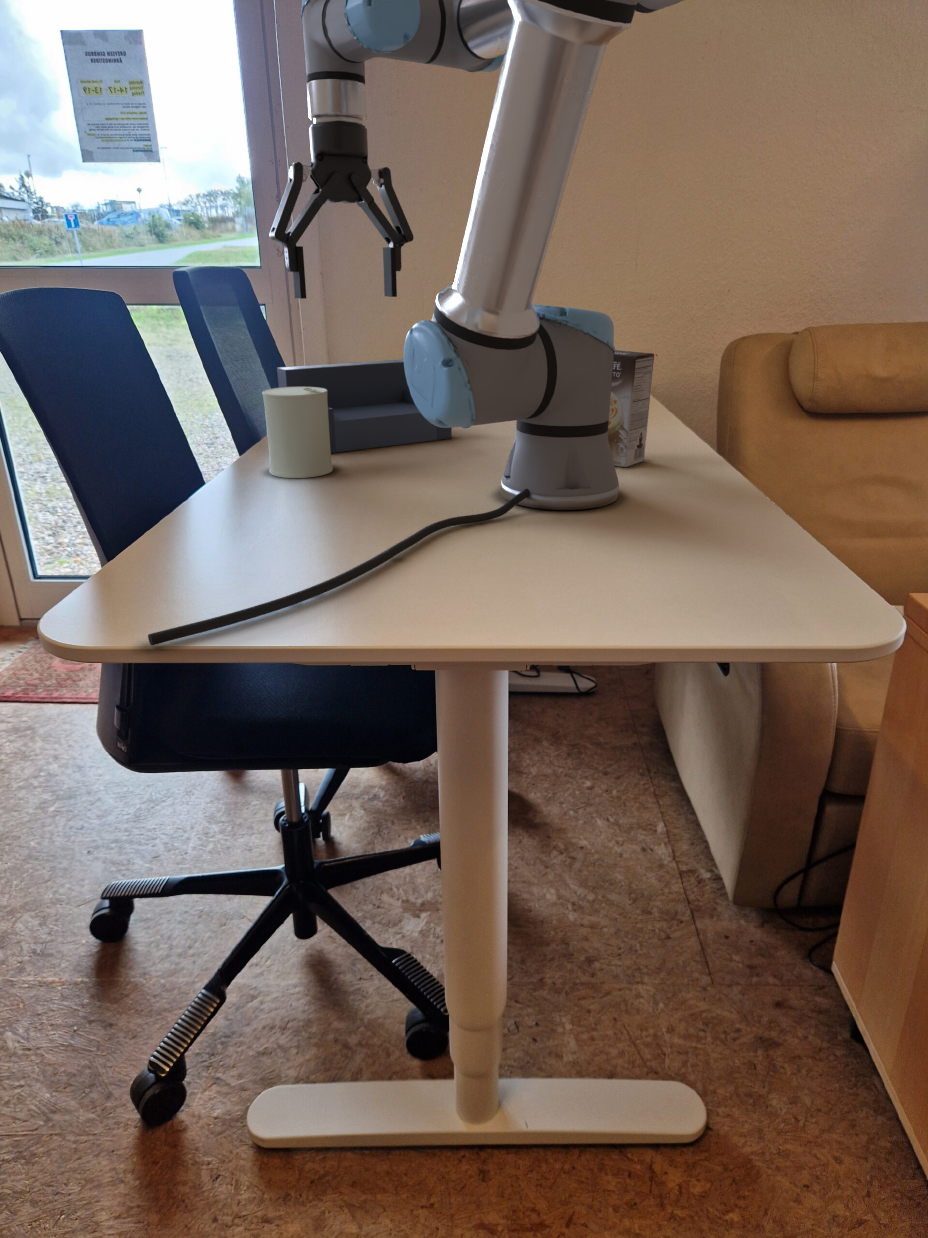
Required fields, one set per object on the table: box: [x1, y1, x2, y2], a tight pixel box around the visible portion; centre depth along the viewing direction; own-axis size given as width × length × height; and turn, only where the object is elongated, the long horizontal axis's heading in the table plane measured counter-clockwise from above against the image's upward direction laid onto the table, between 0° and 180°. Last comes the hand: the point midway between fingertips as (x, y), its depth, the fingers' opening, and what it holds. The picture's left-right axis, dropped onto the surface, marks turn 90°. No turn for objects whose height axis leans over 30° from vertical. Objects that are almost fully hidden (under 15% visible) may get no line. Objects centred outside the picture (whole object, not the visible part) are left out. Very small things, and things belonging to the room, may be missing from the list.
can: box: [261, 387, 334, 479], centre depth 118 cm, size 9×9×12 cm
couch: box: [276, 358, 453, 454], centre depth 141 cm, size 16×25×12 cm, turn 122°
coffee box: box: [608, 349, 655, 468], centre depth 124 cm, size 9×6×16 cm
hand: (346, 297), depth 116 cm, fingers open, 13 cm apart
